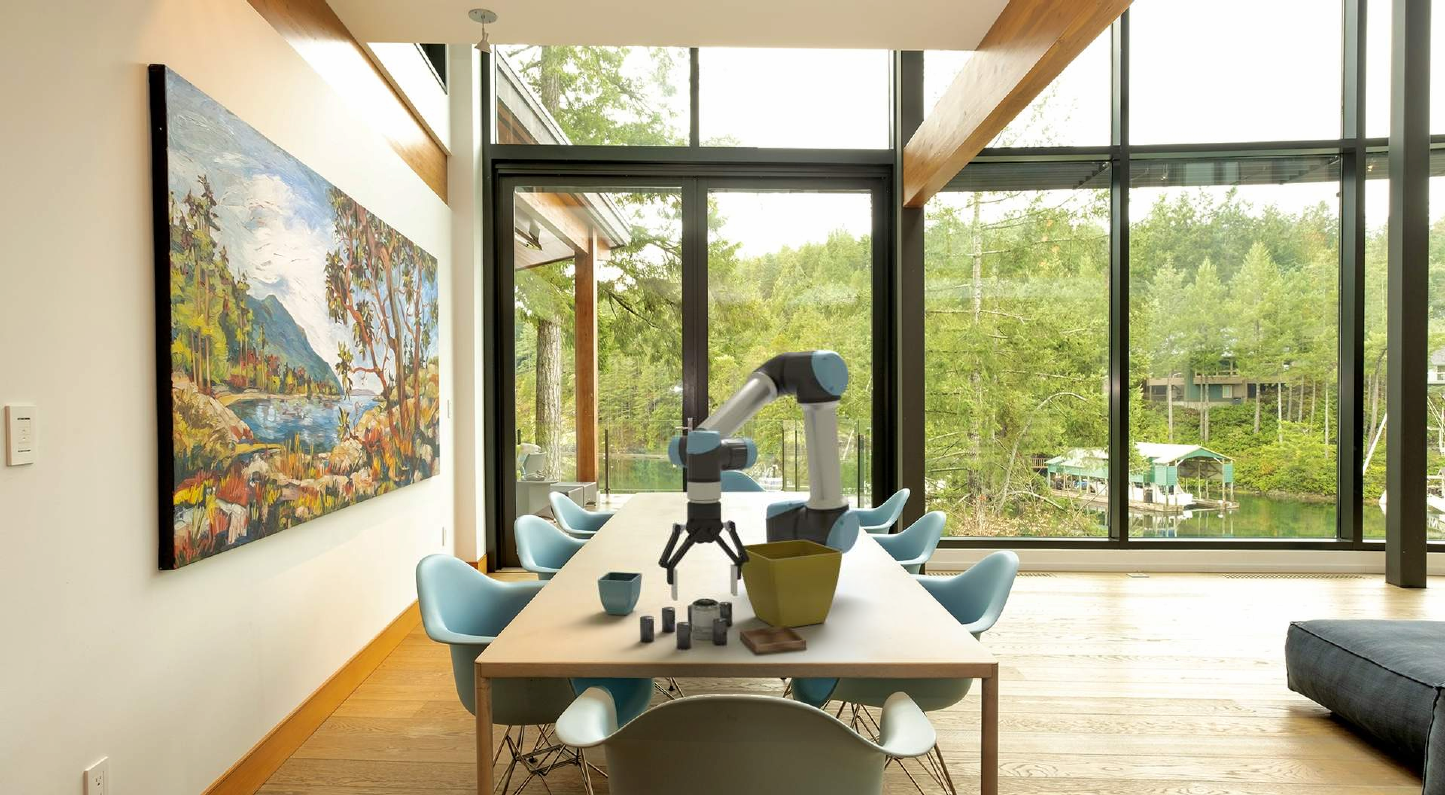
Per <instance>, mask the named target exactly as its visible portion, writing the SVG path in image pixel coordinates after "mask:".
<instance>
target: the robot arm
mask: <svg viewBox="0 0 1445 795" xmlns="http://www.w3.org/2000/svg"><path fill="white" fill-rule="evenodd" d="M849 378H850V377H849V371H848V367H847V364H846V362H845V360H844V358H842V357H841V355H840V354H839V353H837V352H836V351H833V350H824V349H823V350H822V349H818V350H806V351H787V352H782V353H779V354H778V355H775V356H773V357H771V358H770V359H768V360H766V361H765V362H764V363H762V364H761V365H759V366H758V367H757V368H755V370H753V371H752V372H751V373H750V374H748V375H747V377H746V381H745V382H746V383H744V384H743V385H742V386H741V387H740V388H739V389H737V391H735V392H734V393H733V394H732V395H731V396H729V397H728V399H727V400H726V401H724V402H723V403H722V404H721V405H720V406H719V407H718V408H717V409H716V410H715V411H714V412H713V413H711V414H710V415H708V417H707V418H706V419H705V420H704V421H702V422H701V423H700V424H699V425H697V427H696V428H695V429H694V430H691V431H690V432H688V434H687V435H678V436H675V437H673V438H672V439H671V440H670V442H669V444H668V447H667V456H668V458H669V461H670V462H671V463H672V465H674V466H676V467H682V468H685V469H686V474H687V476H686V478H687V479H686V481H687V482H686V483H687V484H686V490H687V492H686V497H687V498H686V499H687V500H689V501H688V502H687V503H686V512H687V513H686V518H687V519H686V524H683V523H681V524H680V523H677V522H675V523H673V524H672V531H671V532H672V533H671V534H670V537H669V539H668V541H667V542H666V545H665V548H664V550H663V552H662V554H661V556H660V558H659V560H658V562H657V563H658V566H660V567H661V568H663V569H666V583H667V584H668V585H669V586H670V585H671V586H670V587H671V588H670V590H671V591H670V592H671V593H670V595H671V599H672V600H673V601H678V597H679V596H678V569H676V566H677V565H678V564H679V563H680V562H681V560H682V559H683V558H684V556H685V555H686V554H687V553H688V551H689V550H690V548H692V547H693V546H694V544H699V545H700V544H704V543H707V544H713V543H714V542H715V543H717V545H718V546H719V547H720V548H721V549H722V550H723V552H724V553H725V554H726V555H727V556H728V557H729V559H730V560H731V561H732V562H733V563H730V566H729V567H730V594H731V595H732V596H733V597H738V581H739V580H740V581H741V579H742V572H741V566H742V565H743V563H746V562H749V560H750V559H749V557H748V555H747V553H746V551H745V549H744V544H743V542H742V541H741V539H740V536H739V535H738V532H737V527H736V523H735V522H734V521H733V520H727V521H726V522H722V502H721V501H720V499H721V498H722V472H731V471H732V472H733V471H743V470H747V469H750V468H752V467H753V466H754V465H755V464H756V462H757V460H758V448H757V445H756V444H755V442H754V441H753V440H752V439H750V438H748V437H743V436H737V437H732V436H733V435H735V433H737V432H738V431H739V430H740V429H741V428H742V427H743V426H744V425H745V424H746V423H747V422H748V421H750V419H752V417H754V415H755V414H757V412H759V410H761V409H762V408H763V407H764V406H765V405H768V404H771V403H774V401H776V400H777V399H778V398H781V397H785V396H796V397H795V398H796V404H797V405H798V406H799V407H800V408H801V409H802V412H803V422H804V436H805V437H804V438H805V447H806V448H805V449H806V462H807V474H808V487H809V498H808V500H805V499H799V500H798V499H797V500H786V501H778V502H773V503H770V504H769V505H768V506H767V507H766V515H765V528H766V529H765V531H766V534H765V535H766V538H765V539H766V543H773V542H783V541H794V540H807V541H810V542H814V543H817V544H820V545H823V546H826V547H829V548H833V549H836V550H839V551H842V555H844V554H847V553H848V552H850V551H851V550H852V548H853V547H854V545H855V544H856V542H857V540H858V536H859V533H860V527H861V526H860V518H859V516H858V514H857V513H856V512H855V511H853V510H852V509H850V503H849V500H848V499H847V498H846V497H845V496H844V495H843V487H842V475H841V474H842V472H841V460H840V459H841V458H840V444H839V434H838V430H839V429H838V419H837V405H838V404H839V403H840V402H841V401H842V395H843V394H844V393H845V392H846V391H847V388H848V385H849V381H850V380H849ZM723 530H725V531H726V532H727V533H728V535H729V536H730V539H731V541H732V543H733V544H734V547H735V549H736V551H738V552H737V554H738V553H739V555H740V557H739V558H738V555H737V554H736V553H735V552H734V551H733V550H732V548H731V547H730V546H729V545H728V544H727V542H726V541H725V540H724V539H723V538H722V536H721V535H720V534H721V532H722V531H723ZM684 531H686V533H687V534H688V535H687V536H686V538H685V539H684V541H683V543H682V544H681V545H680V547H679V548H678V549H677V550H676V552H675V553H673V551H674V549H675V547H676V546H677V543H678V542H679V541H678V540H679V539H680V536H681V535H682V534H683V533H684ZM672 553H673V555H672Z"/></svg>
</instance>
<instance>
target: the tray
mask: <svg viewBox="0 0 1445 795" xmlns="http://www.w3.org/2000/svg"><path fill="white" fill-rule="evenodd" d="M739 639H740V640H741V642H742V643H744V645H746V647H748V649H750V651H752V652H753V654H755V655H756V656H760V655H767V654H768V655H769V654H776V653H786V652H794V651H804V650H805V651H806V650H807V640H806V639H805V638H803V636H801V635H800V634H798V632H796V631H795V630H794V629H792V627H788V626H782V627H774V626H772V627H765V628H764V627H763V628H756V629H755V628H754V629H747V630H746V629H744V630H740V631H739Z"/></svg>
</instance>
